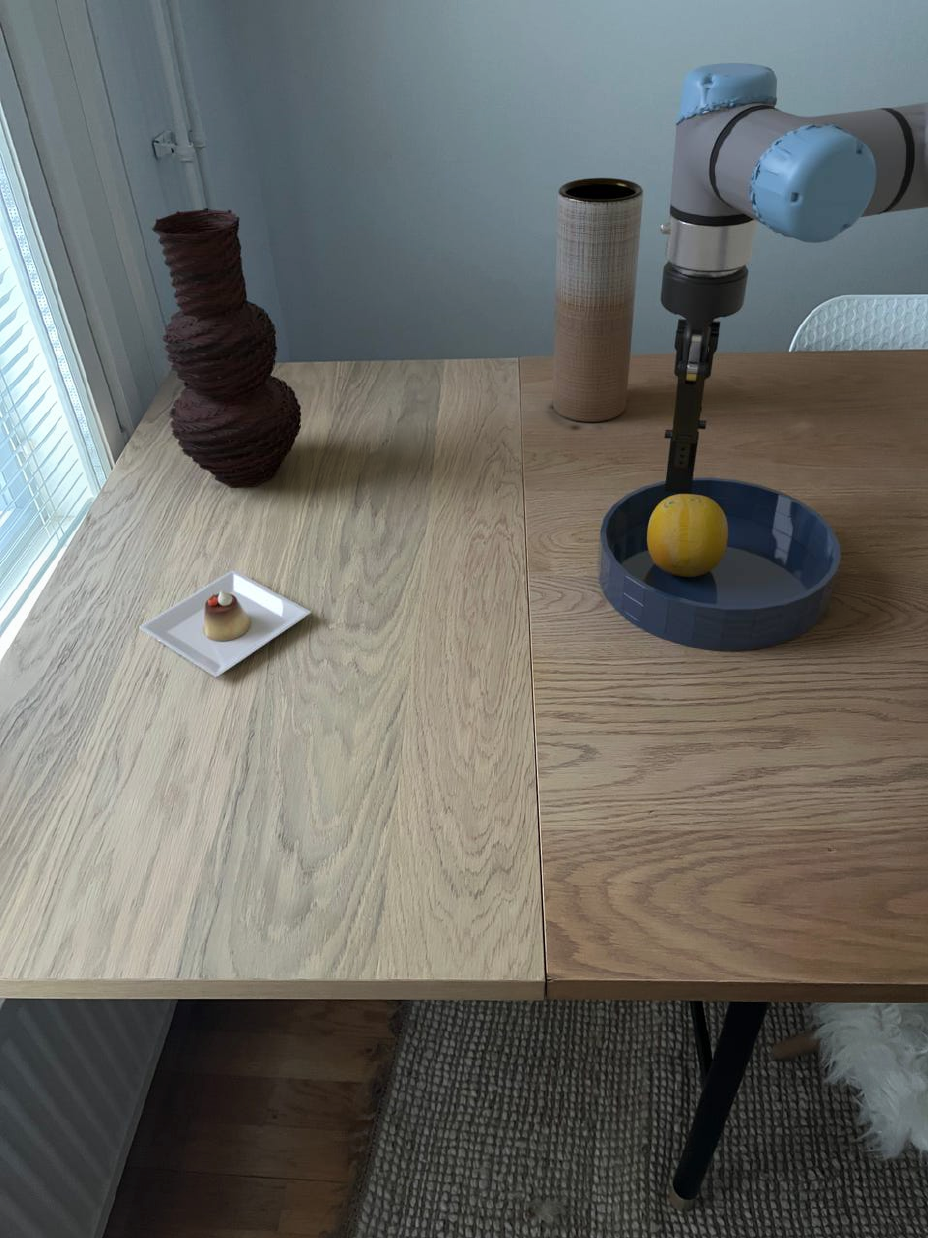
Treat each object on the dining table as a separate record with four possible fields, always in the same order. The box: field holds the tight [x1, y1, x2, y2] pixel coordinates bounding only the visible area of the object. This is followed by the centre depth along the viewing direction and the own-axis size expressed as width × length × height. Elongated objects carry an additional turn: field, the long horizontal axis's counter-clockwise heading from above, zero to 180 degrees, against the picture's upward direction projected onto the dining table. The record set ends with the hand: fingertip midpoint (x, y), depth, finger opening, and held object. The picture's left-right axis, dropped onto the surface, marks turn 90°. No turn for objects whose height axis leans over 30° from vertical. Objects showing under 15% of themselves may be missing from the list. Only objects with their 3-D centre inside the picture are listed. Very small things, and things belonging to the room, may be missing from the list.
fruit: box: [647, 494, 728, 577], centre depth 95 cm, size 9×8×8 cm
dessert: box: [138, 569, 312, 678], centre depth 92 cm, size 12×12×5 cm
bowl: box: [597, 476, 842, 652], centre depth 96 cm, size 23×23×5 cm
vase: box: [151, 207, 302, 488], centre depth 109 cm, size 15×15×30 cm
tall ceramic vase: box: [552, 177, 644, 423], centre depth 120 cm, size 10×10×28 cm
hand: (678, 488), depth 100 cm, fingers closed
